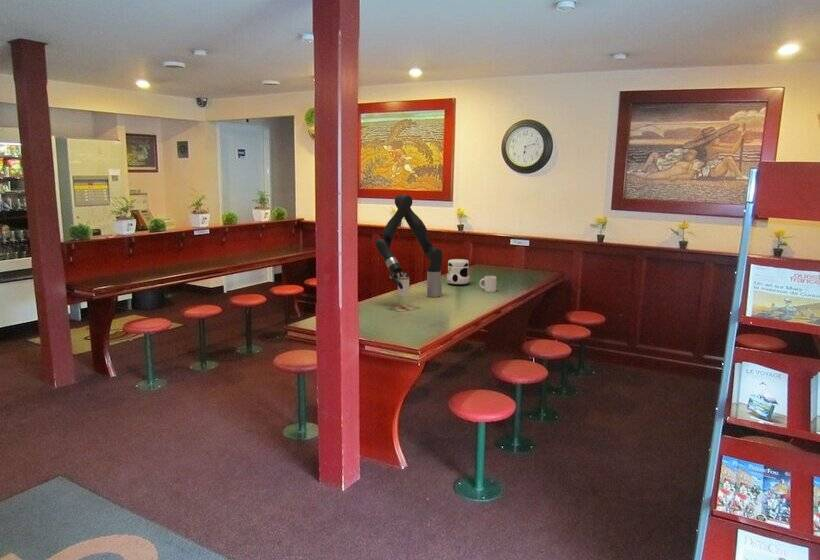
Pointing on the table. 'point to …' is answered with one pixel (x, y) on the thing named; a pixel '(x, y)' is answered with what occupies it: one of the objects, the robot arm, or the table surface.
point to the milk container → (458, 272)
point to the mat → (403, 308)
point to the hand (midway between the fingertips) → (405, 287)
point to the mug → (489, 283)
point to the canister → (404, 286)
